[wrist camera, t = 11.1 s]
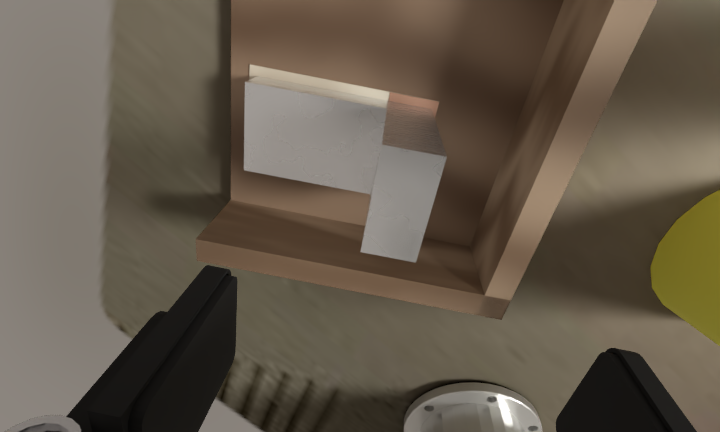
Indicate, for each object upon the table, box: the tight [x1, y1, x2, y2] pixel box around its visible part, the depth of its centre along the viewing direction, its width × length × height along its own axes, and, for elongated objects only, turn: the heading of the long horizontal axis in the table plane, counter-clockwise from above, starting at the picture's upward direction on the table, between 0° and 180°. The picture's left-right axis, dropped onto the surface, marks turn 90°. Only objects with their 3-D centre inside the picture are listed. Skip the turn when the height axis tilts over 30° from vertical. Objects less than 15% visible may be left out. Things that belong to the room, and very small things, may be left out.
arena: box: [196, 0, 658, 320], centre depth 18 cm, size 24×18×6 cm
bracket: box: [244, 76, 447, 263], centre depth 19 cm, size 10×5×8 cm, turn 81°
